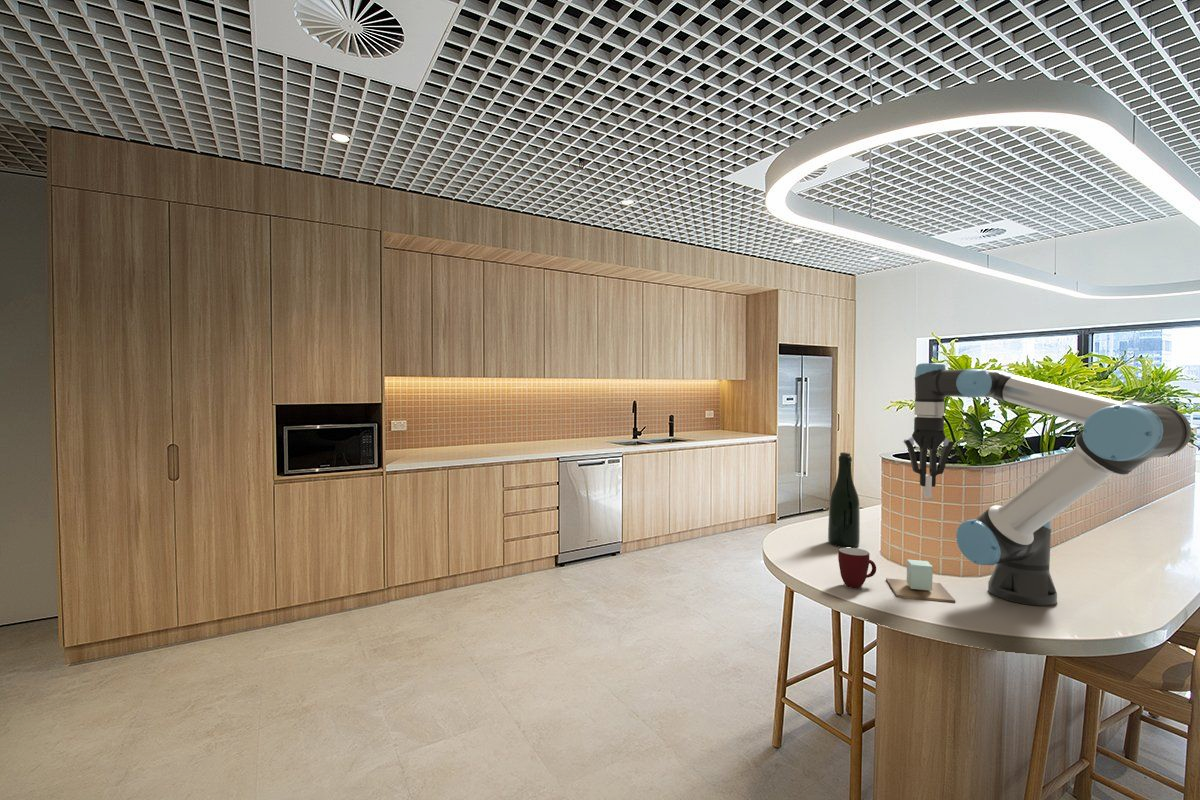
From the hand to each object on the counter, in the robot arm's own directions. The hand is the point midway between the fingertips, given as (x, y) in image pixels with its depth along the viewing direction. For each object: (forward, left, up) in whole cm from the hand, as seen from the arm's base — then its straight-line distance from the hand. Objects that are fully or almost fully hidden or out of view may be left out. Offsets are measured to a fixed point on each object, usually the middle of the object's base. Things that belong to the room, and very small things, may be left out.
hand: (927, 497), depth 169 cm
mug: (+20, +11, -25) cm, 34 cm away
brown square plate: (+4, +10, -24) cm, 27 cm away
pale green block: (+4, +10, -23) cm, 26 cm away
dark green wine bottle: (+18, -35, -25) cm, 46 cm away
